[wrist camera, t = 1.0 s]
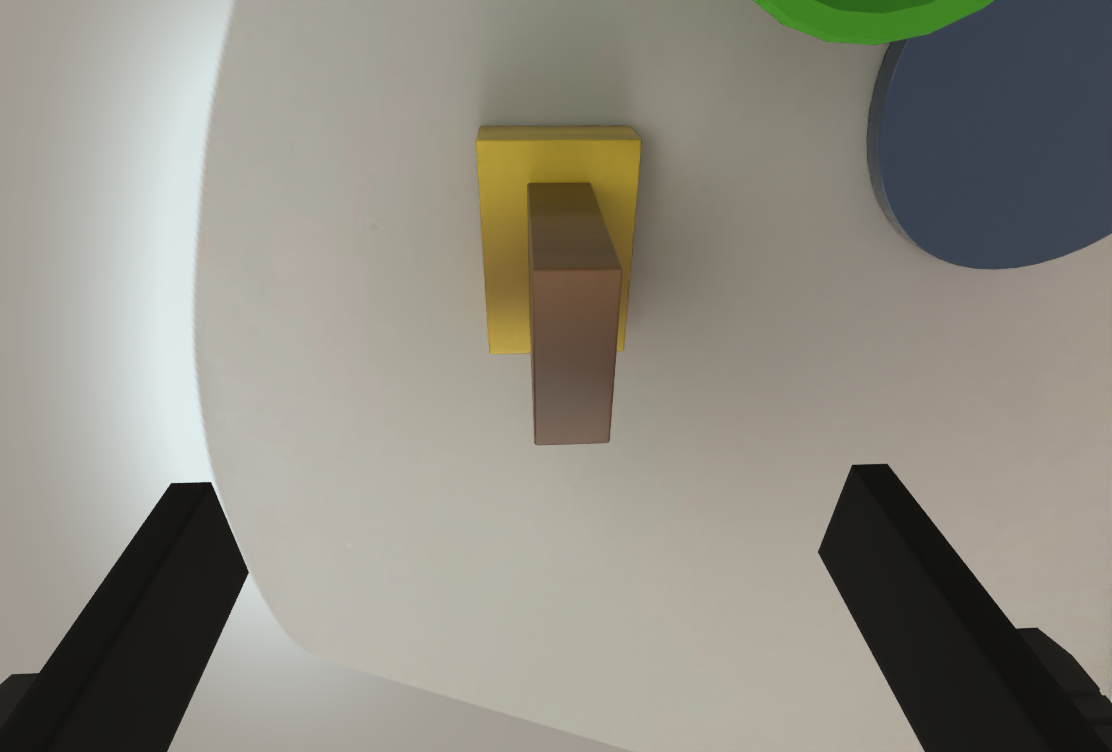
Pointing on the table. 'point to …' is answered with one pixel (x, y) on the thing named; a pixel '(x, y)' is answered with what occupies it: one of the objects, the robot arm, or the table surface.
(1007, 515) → the table surface
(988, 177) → the plate
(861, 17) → the cup
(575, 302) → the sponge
